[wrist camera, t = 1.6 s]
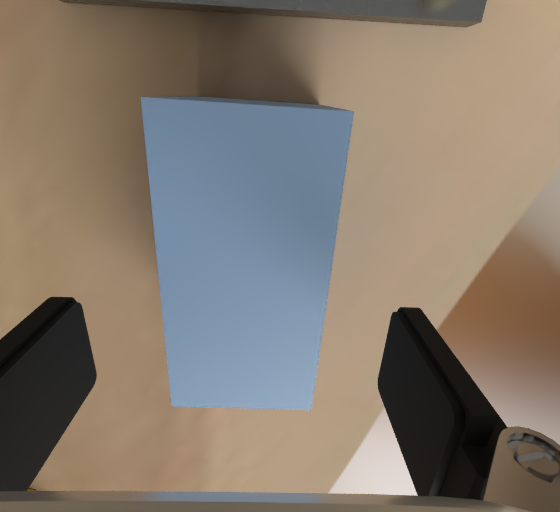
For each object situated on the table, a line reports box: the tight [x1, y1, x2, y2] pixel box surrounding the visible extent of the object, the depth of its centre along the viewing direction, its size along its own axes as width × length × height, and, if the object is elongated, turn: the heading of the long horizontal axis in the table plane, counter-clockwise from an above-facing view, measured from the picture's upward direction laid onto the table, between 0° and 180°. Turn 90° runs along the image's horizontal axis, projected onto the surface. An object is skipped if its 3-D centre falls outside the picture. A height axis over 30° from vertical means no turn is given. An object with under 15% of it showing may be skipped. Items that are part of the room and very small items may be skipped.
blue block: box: [141, 96, 354, 410], centre depth 16 cm, size 12×6×8 cm, turn 176°
